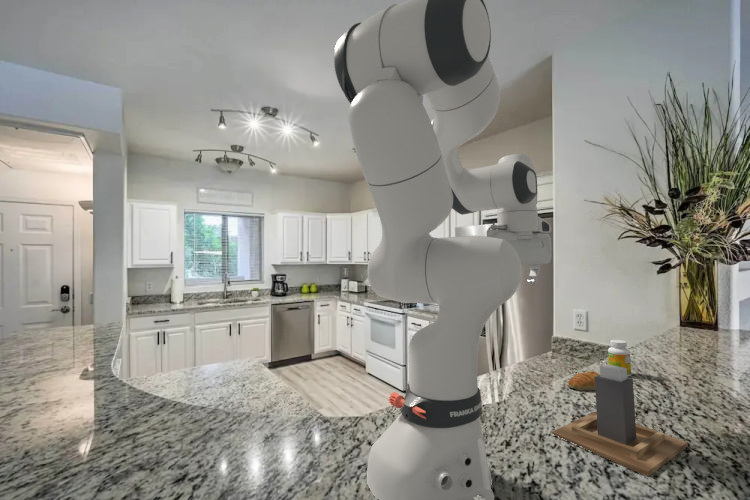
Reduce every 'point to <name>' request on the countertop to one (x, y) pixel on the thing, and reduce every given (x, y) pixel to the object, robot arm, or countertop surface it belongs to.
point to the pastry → (583, 381)
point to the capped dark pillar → (615, 404)
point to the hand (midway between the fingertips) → (520, 284)
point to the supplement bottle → (619, 355)
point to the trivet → (637, 455)
